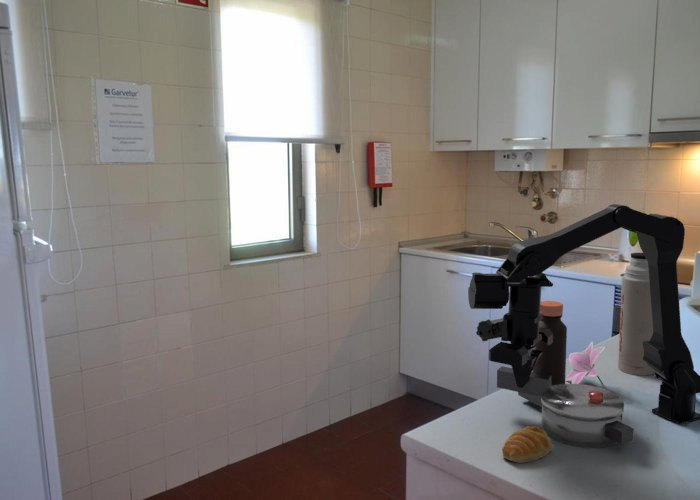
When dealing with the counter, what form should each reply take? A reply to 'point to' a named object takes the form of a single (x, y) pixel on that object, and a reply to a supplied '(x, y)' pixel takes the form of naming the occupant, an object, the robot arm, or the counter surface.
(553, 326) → the vinegar
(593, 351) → the lily
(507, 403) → the counter surface
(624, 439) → the pot
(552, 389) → the lid
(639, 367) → the thermos bottle
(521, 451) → the pastry
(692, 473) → the counter surface
